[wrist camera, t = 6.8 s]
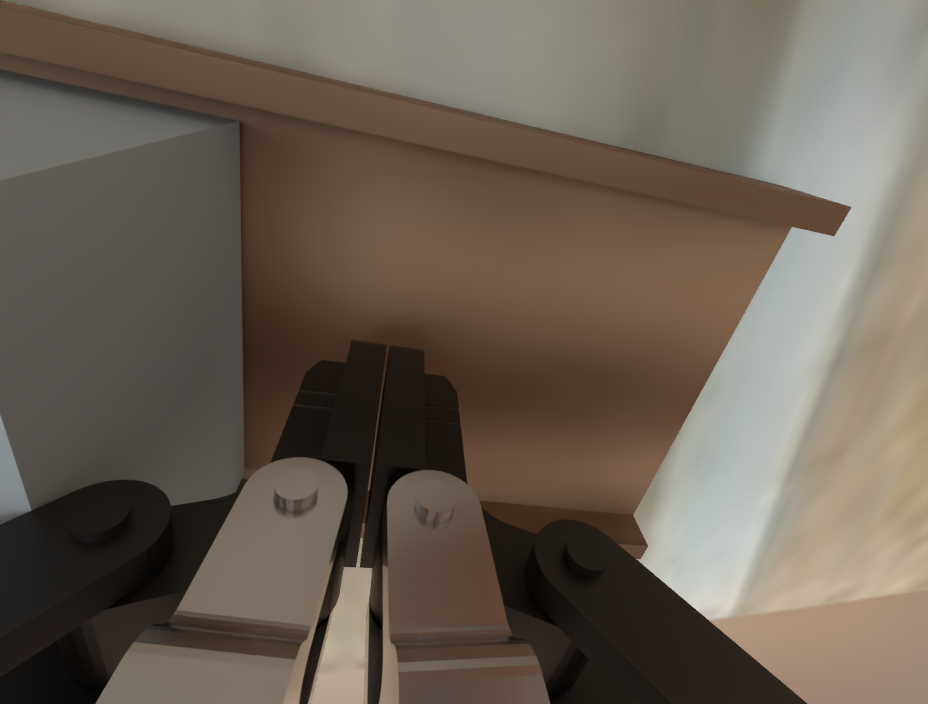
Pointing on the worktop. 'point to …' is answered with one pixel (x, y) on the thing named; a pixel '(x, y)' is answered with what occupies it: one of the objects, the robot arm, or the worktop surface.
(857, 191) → the worktop surface
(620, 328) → the track
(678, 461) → the worktop surface
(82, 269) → the grey square collar
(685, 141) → the worktop surface
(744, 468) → the worktop surface
